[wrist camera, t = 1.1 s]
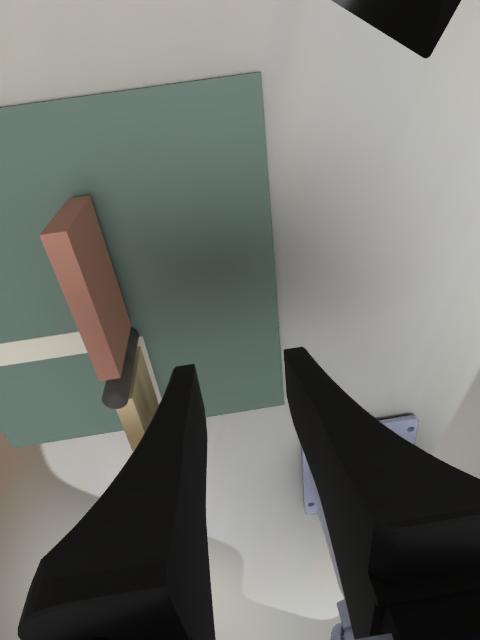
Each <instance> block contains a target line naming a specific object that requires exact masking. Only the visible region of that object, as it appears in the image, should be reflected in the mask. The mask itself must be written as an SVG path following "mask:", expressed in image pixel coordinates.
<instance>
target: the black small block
mask: <svg viewBox="0 0 480 640" xmlns="http://www.w3.org/2000/svg"><path fill="white" fill-rule="evenodd" d="M332 1H333V2H335V3H337V4H338V5H340V6H341V7H343V8H345V9H346V10H348V11H349V12H351V13H353V14H354V15H356V16H358V17H359V18H361V19H362V20H364V21H366V22H367V23H369V24H370V25H372V26H374V27H375V28H377V29H378V30H380V31H382V32H383V33H385V34H386V35H388V36H390V37H391V38H393V39H394V40H396V41H398V42H399V43H401V44H402V45H404V46H406V47H407V48H409V49H410V50H412V51H414V52H415V53H417V54H418V55H420V56H422V57H423V58H428V57H429V56H430V55H431V54H432V52H433V50H434V48H435V46H436V45H437V43H438V41H439V39H440V37H441V36H442V34H443V32H444V30H445V28H446V27H447V25H448V23H449V21H450V19H451V18H452V16H453V14H454V12H455V10H456V9H457V7H458V5H459V3H460V1H461V0H332Z"/></svg>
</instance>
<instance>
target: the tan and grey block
mask: <svg viewBox="0 0 480 640" xmlns="http://www.w3.org/2000/svg"><path fill="white" fill-rule="evenodd" d="M138 339H139V333H138V331H137V330H136V329H135V328H133V327H131V329H130V334H129V339H128V344H127V349H126V354H125V359H124V364H123V369H122V374H121V378H118V379H111V380H106V383H105V387H104V391H103V395H102V402H103V404H104V405H105V406H107V407H108V408H111V409H116V411H117V413H118V416H119V418H120V421H121V423H122V426H123V428H124V431H125V433H126V436H127V438H128V441H129V443H130V446H131V448H132V451H133V452H134V450H135V449H136V447H137V445H138V444H139V442H140V440H141V439H142V437H143V435H144V433H145V431H146V430H147V428H148V426H149V424H150V422H151V420H152V418H153V417H154V414H155V412H156V410H157V408H158V406H159V404H158V400H157V397H156V394H155V391H154V388H153V385H152V381H151V378H150V375H149V372H148V369H147V365H146V362H145V359H144V356H143V353H142V350H141V346H139V347H137V345H138Z"/></svg>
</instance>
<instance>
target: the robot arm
mask: <svg viewBox="0 0 480 640" xmlns="http://www.w3.org/2000/svg"><path fill="white" fill-rule="evenodd" d="M284 362H285V377H286V392H287V399H288V403H289V408H290V412H291V416H292V420H293V424H294V427H295V429H296V432H297V435H298V438H299V441H300V443H301V446H302V468H303V493H304V510H305V513H306V514H307V515H313V514H319V517H320V521H321V524H322V528H323V531H324V535H325V538H326V542H327V546H328V549H329V553H330V556H331V560H332V563H333V567H334V570H335V574H336V578H337V581H338V585H339V587H340V590H341V592H342V594H343V596H344V600H342V601H339V602H337V607H338V611H339V615H340V618H341V622H342V623H338V624H336V625H335V626H334V627H333V629H332V632H331V639H330V640H480V479H478V478H476V477H474V476H472V475H470V474H468V473H465V472H463V471H461V470H459V469H457V468H455V467H453V466H451V465H449V464H447V463H445V462H443V461H441V460H439V459H437V458H436V457H434V456H432V455H430V454H428V453H427V452H425V451H423V450H422V449H420V448H418V447H417V446H415V445H414V443H415V438H416V433H417V428H418V420H417V418H416V417H415V416H413V415H410V416H404V417H397V418H391V419H385V420H379V421H378V420H377V419H376V418H374V417H373V416H372V415H371V414H369V413H368V412H367V411H366V410H365V409H363V408H362V407H361V406H360V405H359V404H358V403H356V402H355V401H354V400H353V399H352V398H351V397H350V396H349V395H348V394H346V393H345V392H344V391H343V390H342V389H341V388H340V387H339V386H338V385H337V384H336V383H335V382H334V381H333V380H332V379H331V378H330V377H329V376H328V375H327V374H326V372H325V371H324V370H323V369H322V368H321V367H320V366H319V365H318V364H317V362H316V361H315V360H314V359H313V358H312V356H311V355H310V354H309V353H308V351H307V350H306V349H305V348H304V347H298V348H291V349H285V350H284ZM206 469H207V428H206V417H205V407H204V403H203V399H202V394H201V390H200V385H199V381H198V377H197V372H196V368H195V364H189V365H182V366H176V367H175V368H174V369H173V371H172V374H171V377H170V380H169V383H168V385H167V388H166V390H165V393H164V395H163V397H162V400H161V402H160V404H159V406H158V408H157V410H156V412H155V414H154V417H153V418H152V420H151V422H150V424H149V426H148V428H147V430H146V431H145V433H144V435H143V437H142V439H141V440H140V442H139V444H138V445H137V447H136V449H135V450H134V452H133V453H132V455H131V456H130V458H129V459H128V461H127V462H126V464H125V465H124V467H123V468H122V470H121V471H120V472H119V474H118V475H117V476H116V478H115V479H114V481H113V482H112V483H111V485H110V486H109V487H108V488H107V490H106V491H105V492H104V493H103V495H102V496H101V497H100V498H99V499H98V501H97V502H96V503H95V504H94V505H93V506H92V508H91V509H90V510H89V511H88V512H87V513H86V515H85V516H84V517H83V518H82V519H81V520H80V521H79V522H78V524H77V525H76V526H75V527H74V528H73V529H72V530H71V531H70V532H69V533H68V534H67V535H66V536H65V537H64V538H63V539H62V540H61V541H60V542H59V543H58V544H57V545H56V546H55V547H54V548H53V549H52V550H51V551H50V552H49V553H48V554H47V555H45V556H44V557H43V559H41V561H40V563H39V566H38V568H37V571H36V573H35V576H34V578H33V581H32V583H31V586H30V588H29V592H28V595H27V598H26V602H25V605H24V609H23V612H22V615H21V619H20V622H19V626H18V636H19V638H20V639H21V640H215V630H214V619H213V607H212V594H211V583H210V569H209V556H208V542H207V527H206Z"/></svg>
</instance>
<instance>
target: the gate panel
mask: <svg viewBox="0 0 480 640" xmlns="http://www.w3.org/2000/svg"><path fill="white" fill-rule="evenodd" d="M39 236H40V238H41V241H42V243H43V246H44V248H45V251H46V253H47V255H48V258H49V260H50V263H51V265H52V267H53V270H54V272H55V275H56V277H57V280H58V282H59V284H60V287H61V289H62V292H63V294H64V297H65V299H66V301H67V304H68V306H69V309H70V311H71V314H72V316H73V318H74V321H75V323H76V326H77V328H78V331H79V333H80V335H81V338H82V340H83V343H84V345H85V348H86V350H87V352H88V355H89V357H90V360H91V362H92V365H93V367H94V369H95V372H96V374H97V377H98V379H99V381H105V380H111V379H118V378H121V374H122V369H123V364H124V359H125V354H126V349H127V344H128V339H129V334H130V329H131V323H130V320H129V316H128V313H127V310H126V307H125V304H124V301H123V298H122V294H121V291H120V288H119V285H118V282H117V279H116V276H115V273H114V269H113V266H112V263H111V260H110V257H109V254H108V251H107V248H106V244H105V241H104V238H103V235H102V232H101V229H100V226H99V222H98V219H97V216H96V213H95V210H94V207H93V204H92V201H91V197H90V196H83V197H76V198H69V199H67V201H66V202H65V203H64V205H63V206H62V207H61V208H60V210H59V211H58V212H57V213H56V215H55V216H54V217H53V218H52V220H51V221H50V222H49V223H48V225H47V226H46V227H45V228H44V230H43V231H42V232H41V234H40V235H39Z"/></svg>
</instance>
